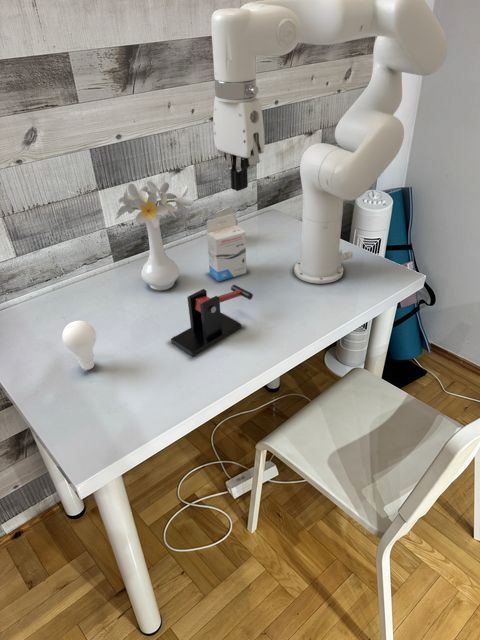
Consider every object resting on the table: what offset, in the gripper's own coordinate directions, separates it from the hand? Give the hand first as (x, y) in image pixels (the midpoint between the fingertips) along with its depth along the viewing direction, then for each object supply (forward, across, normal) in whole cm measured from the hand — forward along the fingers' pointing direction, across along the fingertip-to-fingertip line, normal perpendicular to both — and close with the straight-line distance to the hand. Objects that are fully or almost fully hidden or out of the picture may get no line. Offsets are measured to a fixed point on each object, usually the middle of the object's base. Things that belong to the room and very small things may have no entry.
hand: (239, 188), depth 104 cm
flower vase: (+27, +21, +8) cm, 35 cm away
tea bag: (+27, +26, -18) cm, 41 cm away
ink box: (+27, +12, -6) cm, 30 cm away
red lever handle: (+21, -4, +11) cm, 24 cm away
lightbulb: (+27, +5, +39) cm, 48 cm away
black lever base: (+27, -4, +16) cm, 32 cm away
